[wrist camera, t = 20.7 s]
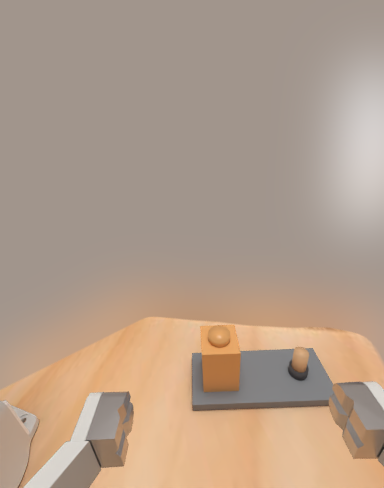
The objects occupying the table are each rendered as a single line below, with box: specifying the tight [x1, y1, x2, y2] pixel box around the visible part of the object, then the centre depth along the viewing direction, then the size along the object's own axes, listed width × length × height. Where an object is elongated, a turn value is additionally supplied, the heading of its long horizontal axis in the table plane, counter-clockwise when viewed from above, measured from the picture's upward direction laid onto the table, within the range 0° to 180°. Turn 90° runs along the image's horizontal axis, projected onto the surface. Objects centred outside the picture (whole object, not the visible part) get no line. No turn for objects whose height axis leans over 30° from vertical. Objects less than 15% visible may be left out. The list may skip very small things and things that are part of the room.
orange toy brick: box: [200, 325, 241, 392], centre depth 41 cm, size 6×6×10 cm
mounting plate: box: [192, 347, 334, 411], centre depth 42 cm, size 24×10×6 cm, turn 90°
